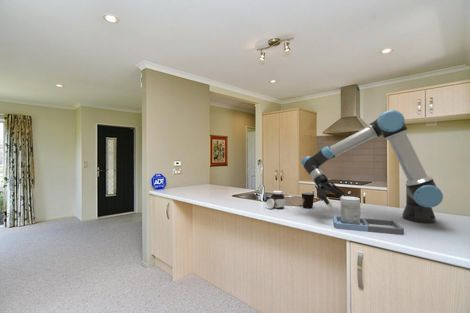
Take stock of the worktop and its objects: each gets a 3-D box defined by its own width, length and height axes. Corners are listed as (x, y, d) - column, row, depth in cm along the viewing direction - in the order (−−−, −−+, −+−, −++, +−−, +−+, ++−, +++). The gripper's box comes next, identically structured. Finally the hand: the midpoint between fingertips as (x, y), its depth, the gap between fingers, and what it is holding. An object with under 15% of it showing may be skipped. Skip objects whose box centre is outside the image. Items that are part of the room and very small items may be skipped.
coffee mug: (314, 209, 164) (315, 194, 164) (301, 208, 166) (301, 194, 165) (312, 205, 175) (312, 191, 175) (300, 205, 177) (300, 191, 177)
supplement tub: (344, 221, 134) (344, 195, 134) (362, 225, 128) (362, 197, 127) (337, 225, 127) (337, 198, 127) (357, 229, 121) (357, 200, 120)
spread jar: (286, 207, 169) (286, 191, 169) (280, 211, 159) (280, 193, 159) (270, 205, 175) (270, 189, 175) (264, 208, 166) (264, 192, 165)
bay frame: (395, 225, 127) (395, 220, 127) (404, 234, 112) (404, 229, 112) (333, 219, 138) (333, 215, 138) (334, 228, 123) (334, 223, 123)
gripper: (328, 180, 153) (350, 208, 141) (300, 182, 141) (321, 213, 128) (336, 172, 149) (358, 201, 136) (307, 174, 136) (329, 206, 123)
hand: (340, 207), depth 132 cm, fingers open, 13 cm apart
